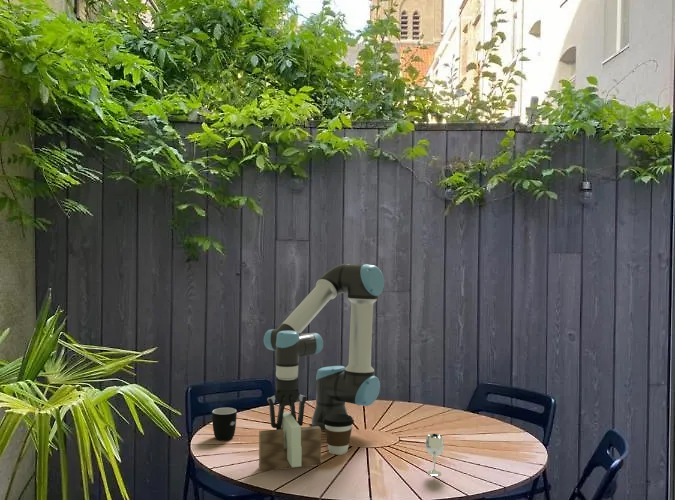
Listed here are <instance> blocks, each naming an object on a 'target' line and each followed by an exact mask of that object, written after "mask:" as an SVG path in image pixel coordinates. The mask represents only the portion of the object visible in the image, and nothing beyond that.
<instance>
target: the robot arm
mask: <svg viewBox="0 0 675 500" xmlns="http://www.w3.org/2000/svg"><path fill="white" fill-rule="evenodd" d="M384 288H385V277H384V274H383V272H382V271H381V269H380V267H378V266H377V265H373V264H367V263H363V264H362V263H361V264H360V263H359V264H358V263H342V264H338V265H336V266H334V267H332V268H330V269H329V270H327V271H326V272H325V273H324V274H322V276H321V277H319V279H318V280H317V281H316V283H315V286H314V288H313V289H312V290H311V291H310V292H309V294H307V295H306V296H305V297H304V298H303V300H302V301H301V302H300V304H299V305H297V307H295V309H294V310H293V311H291V313H290V314H289V315H288V317H286V319H284V321H283V322H282V323H281V324H280V325H279V326H278V327H277V328H273V329H267V331H266V332H265V333H264V336H263V345H264V347H265V348H266V349H267V350H270V351H273V352H275V359H276V360H275V361H276V362H275V363H276V364H275V377H276V379H275V392H274V395H272V396H271V397H269V396H268V397H267V398H266V401H267V403H268V405H269V415H270V416H269V417H270V426H271V427H272V428H273V429H275V430H277V429H282V427H281V425H282V419H283V412H285V407H286V406H289V410H290V411H289V412H290V413H291V415H292V416H293V417H294V419H295V420H296V421H297V423H298V424H299V425H300V426H301V427H302V426H303V425H304V416H305V415H304V413H305V404H306V402H307V399H308V398H307V396H306V395H305V394H301V393H300V391H299V378H298V377H299V361H300V359H301V358H304V357H310V356H315V355H317V354H320V353H321V352H322V350H323V348H324V340H323V338H322V335H320V333H317V332H309V333H302V332H303V331H304V330H305V329H306V328H307V327H308V326H309V324H310V323H311V322H312V321H313V319H315V318H316V317H317V315H319V313H320V311H322V309H323V308H324V307H325V306H326V305H327V304H328V303H329V302H330V300H334V299H335V298H337V296H338V295H340V294H347V300H348V301H349V302H350V320H349V321H350V325H349V344H348V345H349V349H348V350H349V351H348V364H347V366H343V365H333V366H324V367H321V368H319V369H317V371H316V377H315V387H316V388H315V408H314V410H313V411H314V412H313V414H312V417H311V427H313V426H319V427H320V428H321V430H324V431H325V424H324V423H323V419H324V417H325V416H327V415H330V414H346V415H349V414H348V411H347V407H346V403H347V404H351V405H352V404H353V405H356V406H360V407H361V406H363V407H368V406H371V405H372V404H373V403H375V401H376V400H377V398H378V397H379V394H380V390H381V381H380V379H379V378H378V377H377V376H376V375H375V369H374V367H372V345H373V344H372V343H373V339H372V337H373V318H374V317H373V315H374V303H376V302H377V301H378V297H379V295H381V294H382V293H383V290H384ZM276 401H277V402H278V403H279V405H278V412H277V416H276V413H275V403H276ZM297 401H299V405H298V414H297V413H296V402H297ZM297 415H298V416H297ZM276 417H277V419H276Z"/></svg>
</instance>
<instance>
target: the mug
mask: <svg viewBox="0 0 675 500" xmlns="http://www.w3.org/2000/svg"><path fill="white" fill-rule="evenodd" d="M237 413H238V412H237V409H236V408H233V407H219V408H215V409H213V410H212V411H211V415H212V416H211V418H212V428H213V429H212V430H213V435H214V438H215V439H216V440H218V441H222V440H224V441H229V440H233V437H234V436H235V433H236V427H237V416H238V415H237Z"/></svg>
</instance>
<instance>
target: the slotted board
mask: <svg viewBox="0 0 675 500" xmlns="http://www.w3.org/2000/svg"><path fill="white" fill-rule="evenodd" d="M258 431H259V432H258V436H259V437H258V469H259V471H260V472H264V471H267V472H268V471H275V470H284V469H294V468H297V467H291V465H290V463H289V461H288V460H287V448H285V449H284V431H283V429H277V430H276V429H266V430H258ZM301 447H302V457H301V467H300V468H303V466H306V467H313V466H312V465H316V466H321V465H322V429H321V428H320V427H319V426H303V427H302V426H301Z"/></svg>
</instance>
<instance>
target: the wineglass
mask: <svg viewBox="0 0 675 500" xmlns="http://www.w3.org/2000/svg"><path fill="white" fill-rule="evenodd" d="M444 443H445V442H444V439H443V435H442V434H441V433H440V434H439V433H428V434H427V435H426V438H425V444H424V447H425V451H426V453H427V454H428V455H430V456H432V462H433V469H431V470H428V471H427V473H426V474H427V475H429V476H432V477H438V476H439V477H440V476H441V475H442V471H439V470H436V462H437V461H436V460H437V457H438V456H440V455H442V454H443V453H444V448H445V447H444V446H445V445H444Z"/></svg>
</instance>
